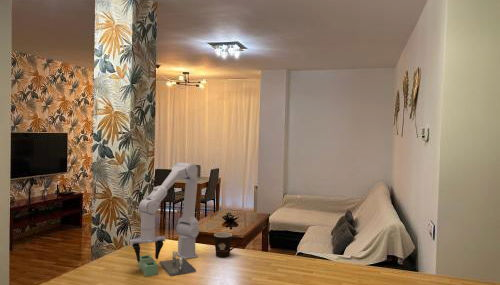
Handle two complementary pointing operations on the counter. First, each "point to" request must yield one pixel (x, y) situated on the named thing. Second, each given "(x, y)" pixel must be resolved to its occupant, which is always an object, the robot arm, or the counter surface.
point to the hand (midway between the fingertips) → (147, 259)
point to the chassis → (177, 266)
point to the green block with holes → (148, 265)
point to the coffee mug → (223, 244)
